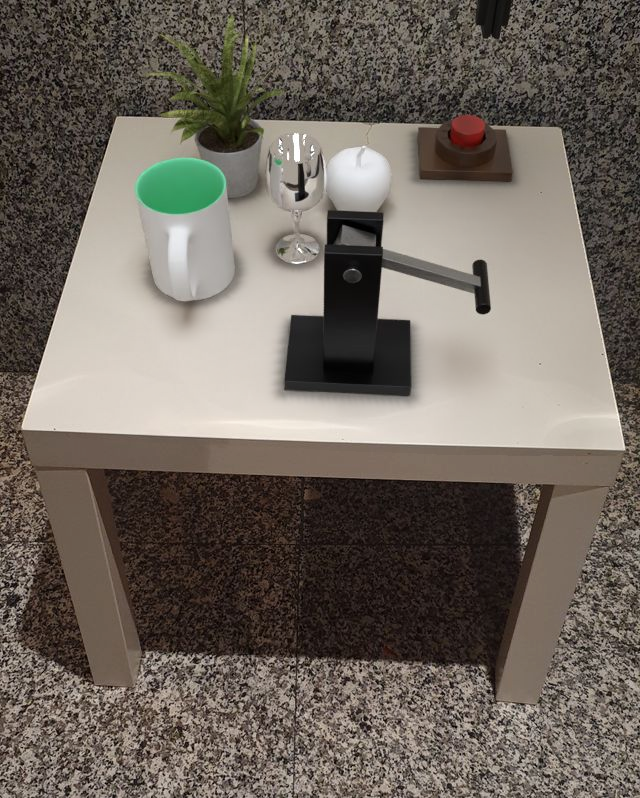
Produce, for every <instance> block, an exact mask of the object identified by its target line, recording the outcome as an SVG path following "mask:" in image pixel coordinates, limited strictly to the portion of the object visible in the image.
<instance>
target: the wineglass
mask: <svg viewBox="0 0 640 798" xmlns="http://www.w3.org/2000/svg"><path fill="white" fill-rule="evenodd" d="M326 166H327V164H326V160H325V156H324V153H323V149H322V146H321V144H320V142H319V140H318V139H316V138H315V137H313V136H312V135H309V134H307V133H302V132H289V133H285V134H282V135H280V136H277V137H275V138H274V139H273V140H272V141H271V143H270V145H269V148H268V153H267V156H266V161H265V167H264V168H265V169H264V184H265V189H266V192H267V195H268V197H269V199H270V201H271V202H272V203H273V204H274V205H275V206H276V207H278V208H279V209H281V210H283V211H287V212H289V213H290V212H291V218H292V221H293V224H294V233H292V234H288V235H285V236H283V237H282V238H281V239H279V240H278V242H277V243H276V245H275V253H276V255H277V257H278V258H279V259H280V260H282V261H283V262H285V263H288V264H292V265H302V264H307V263H309V262H312V261H314V260H315V259H316V258H318V256H319V253H320V244H319V242H318V241H317V240H316V239H315V238H314V237H312V236H310V235H308V234H304V233H301V232H300V223H301V219H302V216H303V212H306V211H307V212H308V211H309V210H312V209H314V208H315V207H316V206H317V205H318V204H319V203H320V202H321V200H322V199H323V197H324V195H325V193H326V184H327V173H326Z"/></svg>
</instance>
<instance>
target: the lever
mask: <svg viewBox="0 0 640 798" xmlns="http://www.w3.org/2000/svg"><path fill="white" fill-rule="evenodd" d="M334 245H354V246H376V234H372V233H369V232H366V231H362V230H359V229H355V228H352V227H349V226H345V225H342V227H341V229H340V231H339V234H338V236H337V238H336V240H335V243H334ZM471 268H472V269H471V270H472V273H468V272H465V271H461V270H458V269H454V268H452V267H451V268H450V267H447V266H445V265H444V266H443V265H441V264H437V263H434V262H430V261H426V260H423V259H420V258H418V257H417V258H416V257H413V256H410V255H407V254H403V253H399V252H396V251H393V250H389V249H385V248H383V260H382V269H386V270H390V271H393V272H397V273H400V274H404V275H407V276H411V277H414V278H417V279H421V280H424V281H428V282H432V283H435V284H439V285H442V286H446V287H449V288H451V289H452V288H453V289H456V290H458V291H459V290H460V291H463V292H466V293H470V294H473V295H474V305H475V308H474V309H475V312H476V313H477V314H479V315H487V314H488V313H490V312H491V310H492V303H491V293H490V283H489V273H488V271H489V270H488V263H487V262H486V260H484V259H477V260H475V261H473V262H472V265H471Z"/></svg>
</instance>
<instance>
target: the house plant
mask: <svg viewBox="0 0 640 798" xmlns="http://www.w3.org/2000/svg"><path fill="white" fill-rule="evenodd" d="M234 22H235V17H234V13H232V14H231V15H230V17H229V19H228V21H227V24H226V27H225V32H224V37H223V38H224V40H223V44H222V45H223V46H222V54H221V61H222V64H221V68H220V69H221V71H220V77H219V79H218V77H217V76H216V74H215V73H214V72H213V71H212V70H211V69H210V68H209V67H208V66H206V65H205V64H204V62H203V60H202V57H201V56H200V55H199V53H198V52H197V51H196V50H195V49H193V48H192V47H191V46H189V44H186V43H183V42H179V41H177V40H175V39H174V38H171V37H170V36H168V35H165V34H160V33H158V35H159V36H161V37H163V38H164V39H166V40H167V41H169V42H170V43H171V44H173V45H174V46H175V47H176V49H178V50H179V51H180V52H181V53H182V55H183V56H184V57H185V60H187V62H188V64H189V65H190V67H191V70H192V71H193V72H194V73H195V75H196V76H197V78H198V79H199V80H200V82H201V84H202V85H203V87H204V88H205V90H206V91H207V93H206V92H205V91H204V90H203V89H202V88H201V87H200V86H199V85H197V84H196V83H194V82H193V81H191V80H190V79H189V78H187V77H186V76H184V75H182V74H179V73H176V72H173V71H158V72H156V71H155V72H148V73H145V74H144V76H166V78H160V79H158V81H163V80H170V81H175V82H177V84H178V85H180V87H181V88H182V89H183V90H184V91H180V92H177V93H175V94H174V95H172V97H171V98H170V99H169V102H170V101H190V102H192V103H193V104H194V105H195V106H196V107H197V108H198V109H176V110H175V109H174V110H170V111H165V112H162V113H160V114H158V115H156V117H158V116H161V117H162V119H167V118H177V119H179V120H177V121H176V122H175V124H174V125H173V127H172V129H171V131H170V134H169V135H171V134H172V133H173V132H175V131H178V130H182V129H183V131H182V134H181V137H180V138H181V139H180V143H179V144H180V146H181V145H182V143H183V142H184V141H186V140H188V139H190V138H192V137H194V142H195V145H196V148H197V151H198V155H199V157H200V160H204V161H207V162H209V163H211V164H213V165H215V166H216V167H218V168H219V169H220V170H221V171H222V173H223V174H224V176H225V179H226V187H227V197H228V199H237V198H242V197H245V196H247V195H249V194H251V193H252V192H253V191H255V189H256V187H257V185H258V178H259V169H260V161H261V160H260V159H261V152H262V142H263V140H264V132H265V129H264V128H263V127H261V125H260V124H259V123H258V121H256V120H255V119H253V118H252V117H251V115H250V114H251V112H252V111H253V110H254V108H255V107H256V106H257V105H258V104H260V103H261V102H263V101H265V100H267V99H268V98H271V97H275V96H276V95H286V93H285V92H284V91H282V90H281V89H279V90H278V89H273V90H269V91H267V92H266V90H265V89H264V88H263V87H259V86H260V85H261V84H262V83H263V82H264V80H265V79H266V78H267V77H268V76H269V75H270V74H271V73H272V72H273V71H274V70H275V69H276V67H274V68H273V69H272V70H270V71H269V72H267V74H265V76H264V77H263V79H262V80H261V81H260V82H258V84H257V85H256V86H255V87H254V88H253V90H252V91H250V92H249V93H247V90H248V86H249V82H250V78H251V76H252V72H253V69H254V66H255V61H256V53H257V43H258V41H257V38H256V39H255V41H254V44H253V46H252V50H251V52H250V54H249V35H248V33H246V36H245V39H244V44H243V47H242V51H241V56H240V57H241V58H240V63H239V67H238V71H237V73H236V74H234V73H233V62H234V61H233V60H234V59H233V58H234V48H235V44H236V42H237V39H238V38H239V37H240V35H241V32H242V30H240V31H238V32H237V33H235V25H234ZM248 55H249V57H248ZM195 59H196V60H195ZM279 66H280V65H279V64H278V65H277V67H279ZM168 77H169V78H168ZM187 83H188V84H190V85H191V86H192V87H194V88H195V89H197V90H198V91H199V92H197V91H193V90H192V88H191V87H190V85H188V84H187ZM255 92H264V94H262V95H260V96H259V97H258V98H257V99H256V100H255V101H254V102H253V103H252V104H251V105H250V106H249V108H248V110H247V112H246V113H245V110H246V108H247V107H248V105H249V103H250V101H251V100H252V97H253V96H254V94H255ZM197 95H198V96H197ZM199 96H200V97H201V98H202V99H201V98H200V97H199ZM203 99H204V100H205V101H206V102H207V103H208V104H209V105H207V103H206V102H204V101H203ZM209 106H210V107H211V108H212V109H211V108H210V107H209ZM244 113H245V114H244ZM243 114H244V115H243Z"/></svg>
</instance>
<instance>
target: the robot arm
mask: <svg viewBox="0 0 640 798" xmlns="http://www.w3.org/2000/svg"><path fill="white" fill-rule="evenodd" d="M512 3H513V0H477V2H476V8H475V16H474V17H475V18H474V23H475V24H474V25H475V26H477V27H478V26H479V27H480V30H481V31H480V32H481V38H482V39H483V40H488V39H489V38H493V40H500V37H501V33H502V27H508V25H509V20H510V14H511V10H512Z"/></svg>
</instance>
